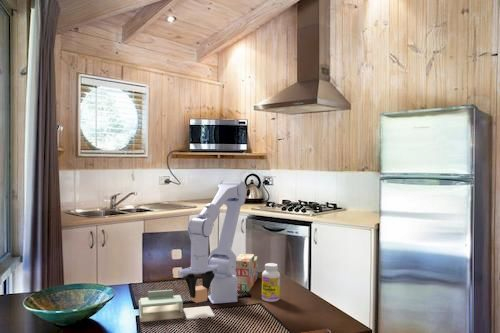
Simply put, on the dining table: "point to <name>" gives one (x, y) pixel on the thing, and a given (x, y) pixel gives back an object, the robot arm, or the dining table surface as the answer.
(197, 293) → the block
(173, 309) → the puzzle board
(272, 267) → the supplement bottle
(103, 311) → the dining table surface
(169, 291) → the sliding cover
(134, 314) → the dining table surface
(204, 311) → the tile
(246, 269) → the printed cardboard box
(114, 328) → the dining table surface
